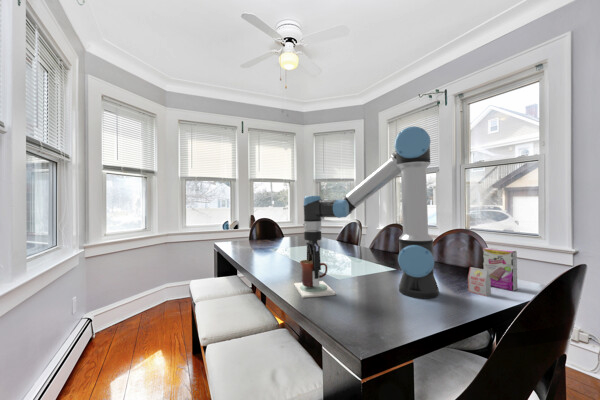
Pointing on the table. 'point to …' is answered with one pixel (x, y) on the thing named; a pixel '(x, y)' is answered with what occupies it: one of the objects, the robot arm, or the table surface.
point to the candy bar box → (501, 267)
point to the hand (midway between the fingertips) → (313, 283)
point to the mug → (309, 272)
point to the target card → (314, 290)
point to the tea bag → (479, 281)
